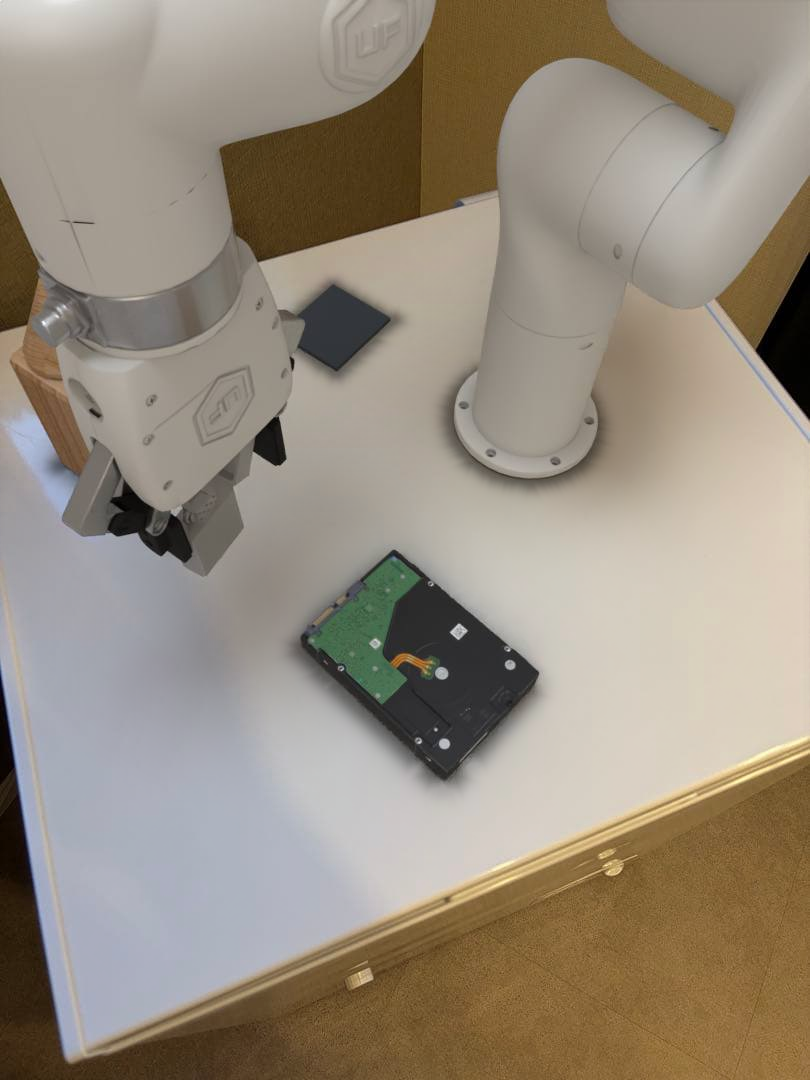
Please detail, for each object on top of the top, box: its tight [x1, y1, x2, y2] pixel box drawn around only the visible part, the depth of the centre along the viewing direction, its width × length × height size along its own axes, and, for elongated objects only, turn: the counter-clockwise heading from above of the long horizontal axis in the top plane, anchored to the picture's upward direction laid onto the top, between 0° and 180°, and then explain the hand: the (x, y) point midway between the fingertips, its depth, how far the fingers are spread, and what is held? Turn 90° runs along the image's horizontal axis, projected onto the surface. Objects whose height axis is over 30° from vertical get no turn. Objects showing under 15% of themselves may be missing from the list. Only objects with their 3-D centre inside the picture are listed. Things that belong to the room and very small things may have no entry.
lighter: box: [175, 437, 255, 578], centre depth 50 cm, size 7×2×8 cm, turn 150°
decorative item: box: [9, 277, 114, 497], centre depth 66 cm, size 7×7×20 cm
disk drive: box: [300, 549, 540, 781], centre depth 65 cm, size 10×3×15 cm
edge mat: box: [296, 283, 391, 372], centre depth 83 cm, size 8×7×1 cm
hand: (217, 496), depth 51 cm, fingers closed on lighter, 7 cm apart
